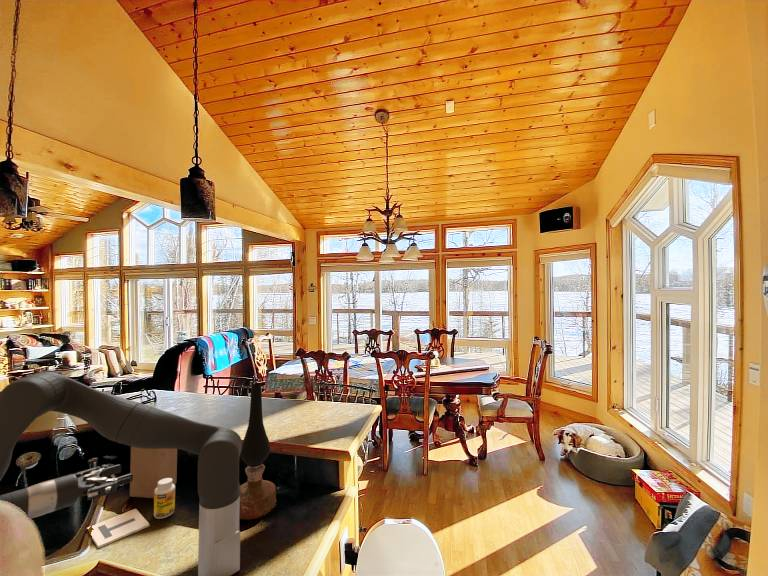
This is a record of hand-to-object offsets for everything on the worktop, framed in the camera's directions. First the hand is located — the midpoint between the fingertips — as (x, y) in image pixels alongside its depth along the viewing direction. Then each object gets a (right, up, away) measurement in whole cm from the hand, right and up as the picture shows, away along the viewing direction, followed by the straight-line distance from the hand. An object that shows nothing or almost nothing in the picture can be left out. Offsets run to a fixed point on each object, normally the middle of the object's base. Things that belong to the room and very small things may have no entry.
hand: (126, 472), depth 101 cm
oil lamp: (+33, -18, +12) cm, 39 cm away
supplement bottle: (+6, -17, +8) cm, 20 cm away
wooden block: (-6, -18, +22) cm, 29 cm away
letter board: (-3, -17, +1) cm, 17 cm away
